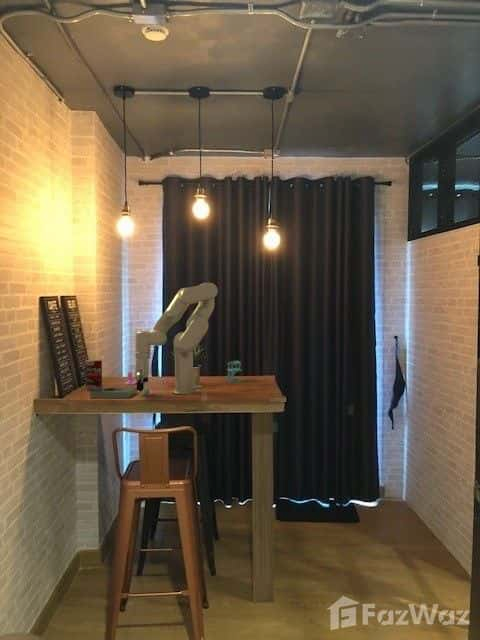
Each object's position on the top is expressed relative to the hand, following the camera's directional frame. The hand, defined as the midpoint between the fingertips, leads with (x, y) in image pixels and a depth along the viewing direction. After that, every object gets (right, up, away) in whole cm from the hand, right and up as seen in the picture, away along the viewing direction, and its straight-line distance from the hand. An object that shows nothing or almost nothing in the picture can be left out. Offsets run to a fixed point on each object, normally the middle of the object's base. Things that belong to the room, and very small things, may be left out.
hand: (142, 388), depth 263 cm
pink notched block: (-13, -2, +35) cm, 37 cm away
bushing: (+1, -4, +1) cm, 4 cm away
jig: (-15, -4, +2) cm, 16 cm away
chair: (+47, -1, +39) cm, 61 cm away
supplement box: (-30, -3, +20) cm, 37 cm away
